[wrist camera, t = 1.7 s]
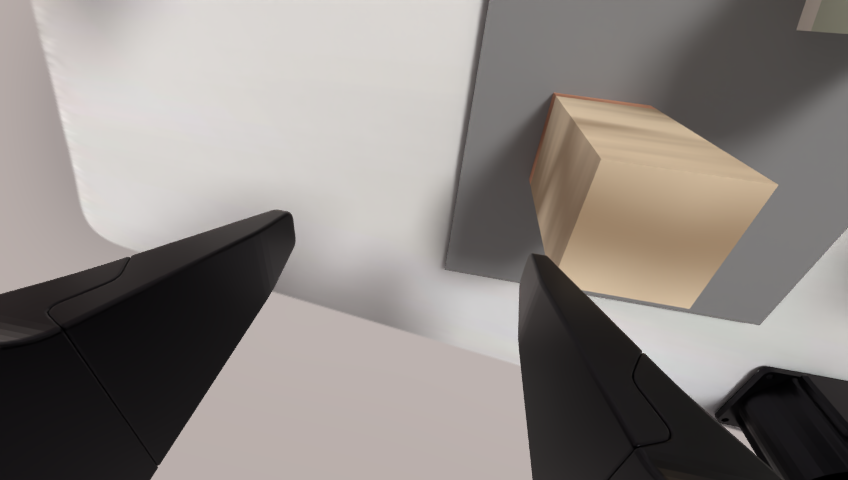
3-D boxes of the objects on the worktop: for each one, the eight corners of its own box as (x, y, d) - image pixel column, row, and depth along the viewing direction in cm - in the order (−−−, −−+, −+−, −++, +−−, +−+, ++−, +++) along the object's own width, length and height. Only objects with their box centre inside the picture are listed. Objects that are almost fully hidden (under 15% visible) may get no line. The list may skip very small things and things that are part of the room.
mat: (753, 318, 23) (759, 325, 22) (445, 264, 24) (444, 269, 24) (1130, -111, 12) (1158, -116, 11) (515, -160, 13) (516, -166, 13)
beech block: (612, 191, 19) (689, 309, 12) (529, 179, 20) (551, 284, 12) (650, 105, 17) (778, 184, 9) (553, 92, 17) (601, 159, 10)
